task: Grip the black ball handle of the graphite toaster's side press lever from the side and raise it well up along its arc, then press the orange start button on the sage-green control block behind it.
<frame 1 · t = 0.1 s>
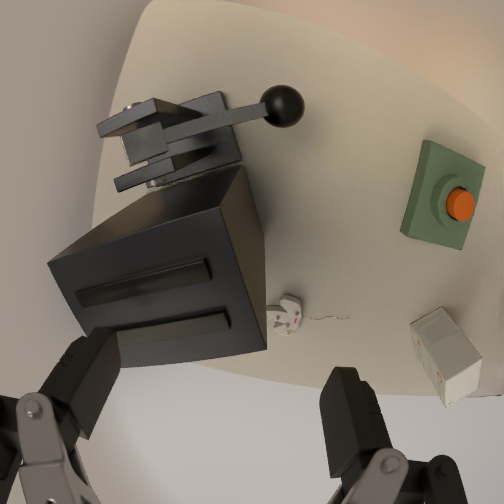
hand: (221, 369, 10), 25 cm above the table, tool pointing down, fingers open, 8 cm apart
start button: (460, 204, 27), point 4 cm above the table, slide at 0.1 cm
toaster: (204, 215, 33), on the table
control block: (441, 195, 31), on the table
toaster lever: (219, 120, 19), point 11 cm above the table, hinge at -25.0°
game controller: (307, 314, 39), on the table
lever bracket: (188, 138, 30), on the table
small box: (428, 330, 40), on the table
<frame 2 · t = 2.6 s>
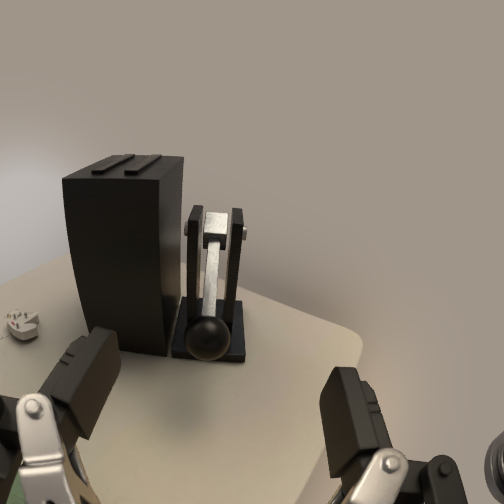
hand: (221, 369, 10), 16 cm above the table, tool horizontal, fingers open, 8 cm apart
toaster: (140, 318, 34), on the table
toaster lever: (211, 280, 25), point 11 cm above the table, hinge at -25.0°
game controller: (8, 343, 24), on the table
lever bracket: (209, 330, 34), on the table
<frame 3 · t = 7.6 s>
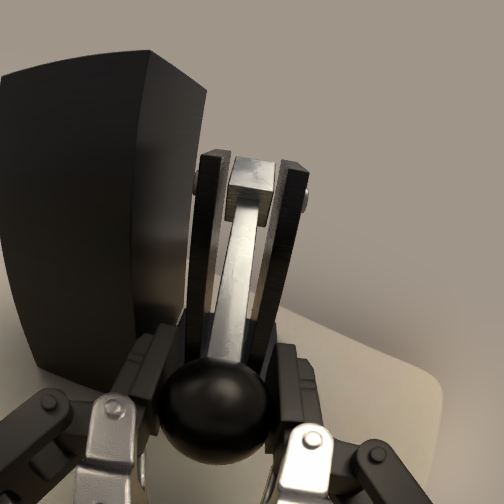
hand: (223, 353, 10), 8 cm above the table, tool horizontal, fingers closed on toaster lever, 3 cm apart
toaster: (115, 334, 21), on the table
toaster lever: (236, 277, 11), point 11 cm above the table, hinge at -25.0°, touching gripper
lever bracket: (222, 366, 20), on the table
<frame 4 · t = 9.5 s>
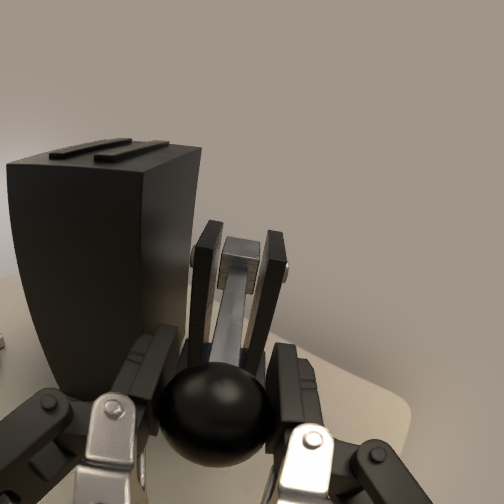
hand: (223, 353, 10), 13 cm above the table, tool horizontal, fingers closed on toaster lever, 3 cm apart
toaster: (127, 362, 24), on the table
toaster lever: (230, 319, 13), point 13 cm above the table, hinge at 1.5°, touching gripper
lever bracket: (218, 391, 24), on the table
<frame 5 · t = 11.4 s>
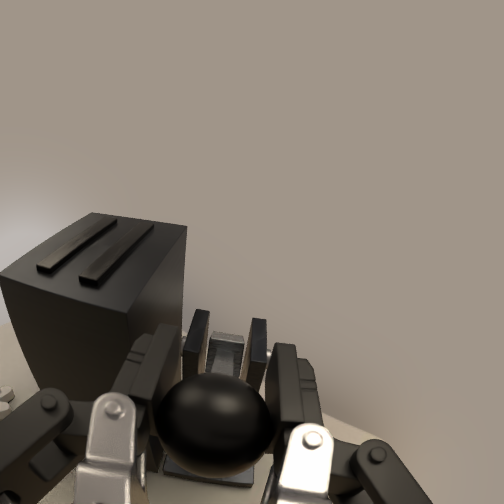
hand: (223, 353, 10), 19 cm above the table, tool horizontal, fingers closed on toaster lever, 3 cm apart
toaster: (129, 414, 24), on the table
toaster lever: (221, 378, 13), point 16 cm above the table, hinge at 30.9°, touching gripper
lever bracket: (212, 441, 24), on the table
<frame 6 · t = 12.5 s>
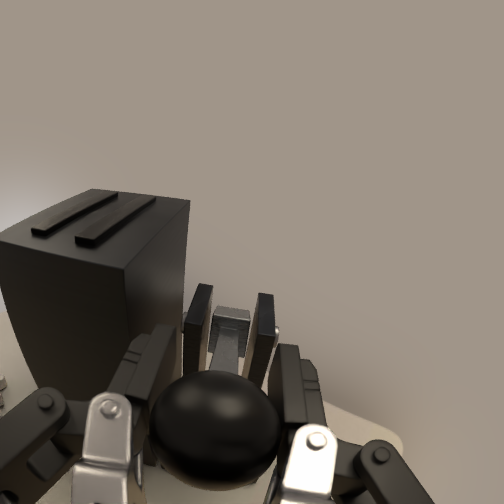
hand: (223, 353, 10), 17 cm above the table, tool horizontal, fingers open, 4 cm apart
toaster: (126, 404, 23), on the table
toaster lever: (224, 363, 12), point 15 cm above the table, hinge at 23.2°
lever bracket: (214, 433, 23), on the table
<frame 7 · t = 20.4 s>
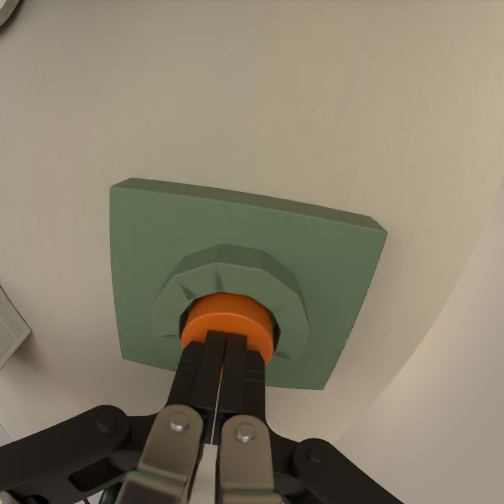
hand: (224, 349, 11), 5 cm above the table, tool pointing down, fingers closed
start button: (228, 335, 11), point 4 cm above the table, slide at -0.4 cm, touching gripper
headphones: (135, 473, 28), on the table
control block: (236, 287, 15), on the table
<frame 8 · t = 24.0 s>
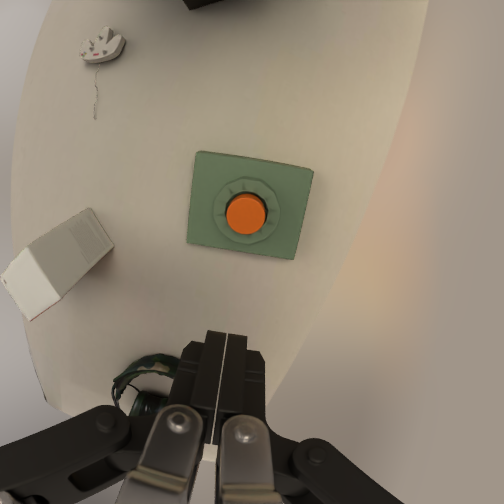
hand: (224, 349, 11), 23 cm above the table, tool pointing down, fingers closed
start button: (246, 213, 28), point 4 cm above the table, slide at 0.1 cm
headphones: (161, 386, 45), on the table
control block: (248, 202, 32), on the table
game controller: (100, 72, 26), on the table
small box: (85, 240, 34), on the table
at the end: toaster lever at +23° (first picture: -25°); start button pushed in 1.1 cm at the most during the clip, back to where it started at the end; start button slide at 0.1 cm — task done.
